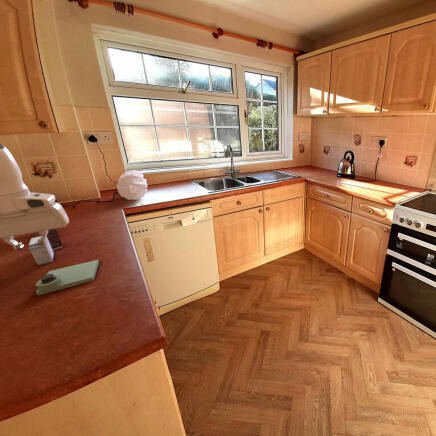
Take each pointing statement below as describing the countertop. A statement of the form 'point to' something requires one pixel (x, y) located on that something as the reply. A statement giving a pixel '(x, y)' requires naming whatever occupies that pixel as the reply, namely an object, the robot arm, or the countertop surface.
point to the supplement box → (52, 239)
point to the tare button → (47, 278)
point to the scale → (69, 277)
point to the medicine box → (41, 251)
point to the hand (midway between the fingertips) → (32, 246)
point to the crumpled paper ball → (132, 185)
